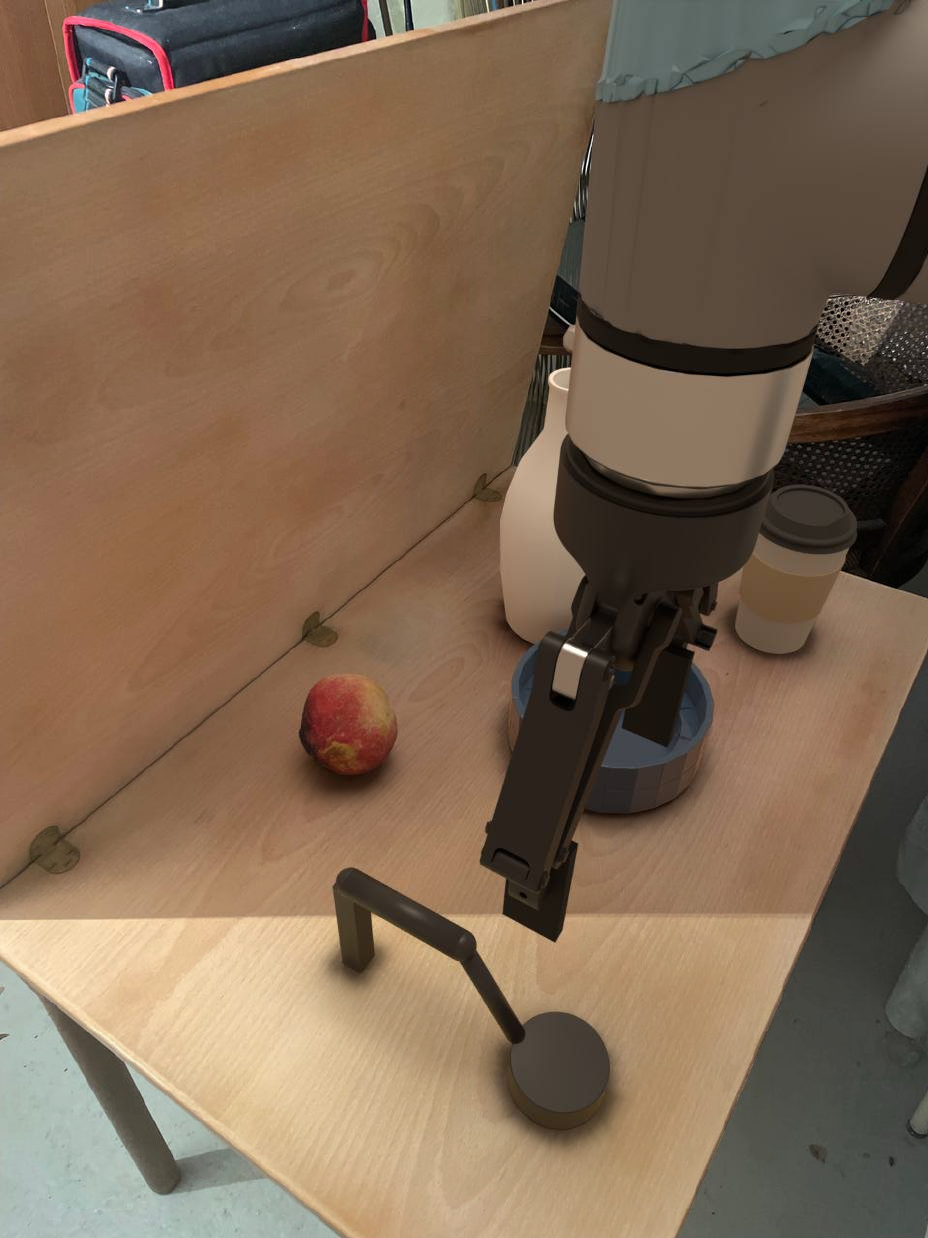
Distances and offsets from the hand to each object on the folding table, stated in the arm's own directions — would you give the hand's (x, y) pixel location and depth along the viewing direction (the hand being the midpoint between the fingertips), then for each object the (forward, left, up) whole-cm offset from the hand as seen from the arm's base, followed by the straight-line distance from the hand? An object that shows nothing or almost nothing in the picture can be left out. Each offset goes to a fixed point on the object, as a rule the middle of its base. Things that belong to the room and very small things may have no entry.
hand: (595, 819), depth 45 cm
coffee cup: (-1, -45, -21) cm, 50 cm away
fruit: (+24, -10, -21) cm, 34 cm away
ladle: (+5, +4, -20) cm, 21 cm away
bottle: (+18, -35, -21) cm, 45 cm away
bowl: (+7, -23, -21) cm, 32 cm away
